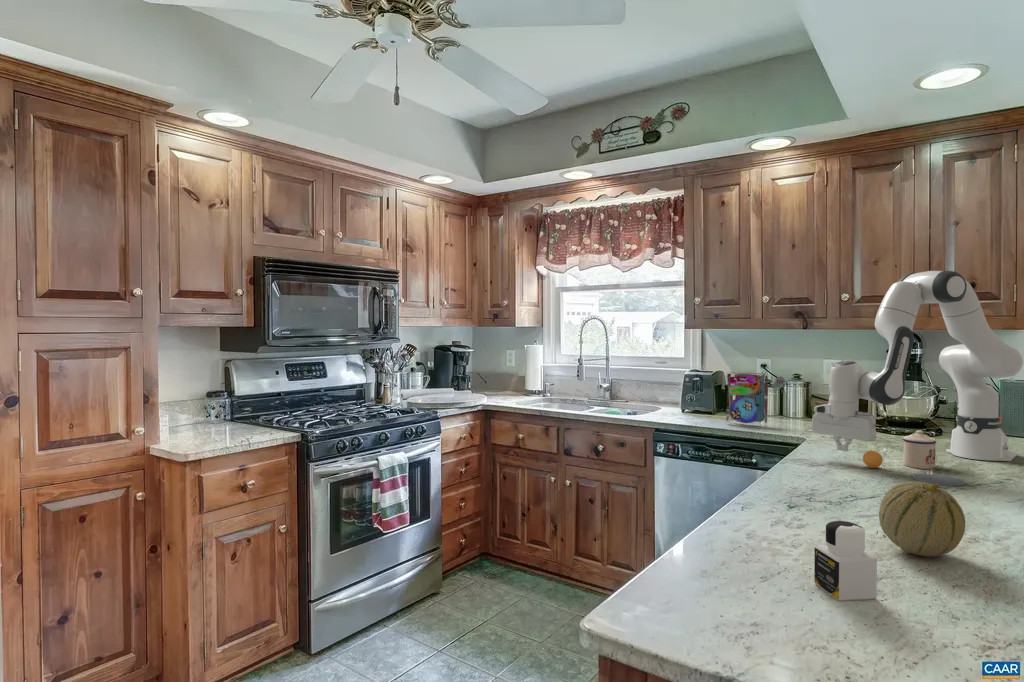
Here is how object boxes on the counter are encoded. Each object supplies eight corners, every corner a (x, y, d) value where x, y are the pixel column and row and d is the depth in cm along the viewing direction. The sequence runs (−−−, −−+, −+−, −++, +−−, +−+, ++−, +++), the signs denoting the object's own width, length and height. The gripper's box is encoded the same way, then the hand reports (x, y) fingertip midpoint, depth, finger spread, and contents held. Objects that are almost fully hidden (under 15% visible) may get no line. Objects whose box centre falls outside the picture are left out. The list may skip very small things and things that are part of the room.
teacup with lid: (932, 470, 190) (932, 434, 190) (899, 466, 197) (899, 430, 197) (941, 464, 199) (941, 429, 198) (908, 460, 205) (909, 426, 205)
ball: (868, 464, 199) (868, 448, 199) (885, 468, 194) (886, 451, 194) (859, 467, 196) (859, 450, 196) (877, 470, 191) (877, 453, 191)
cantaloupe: (883, 535, 133) (884, 468, 133) (966, 551, 124) (967, 479, 124) (872, 556, 122) (873, 482, 122) (962, 574, 113) (963, 495, 112)
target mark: (925, 472, 188) (925, 472, 188) (974, 481, 177) (974, 481, 177) (904, 478, 181) (904, 478, 181) (954, 488, 170) (954, 487, 170)
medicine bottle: (813, 583, 109) (813, 518, 109) (850, 581, 110) (851, 516, 110) (837, 601, 102) (838, 531, 102) (877, 599, 103) (878, 530, 103)
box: (786, 428, 267) (787, 374, 266) (782, 430, 262) (782, 375, 262) (730, 423, 283) (730, 371, 282) (725, 425, 278) (725, 372, 278)
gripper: (880, 412, 196) (879, 455, 196) (819, 405, 213) (818, 444, 213) (870, 414, 192) (869, 457, 192) (809, 406, 209) (808, 446, 210)
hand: (842, 450), depth 203 cm, fingers closed
